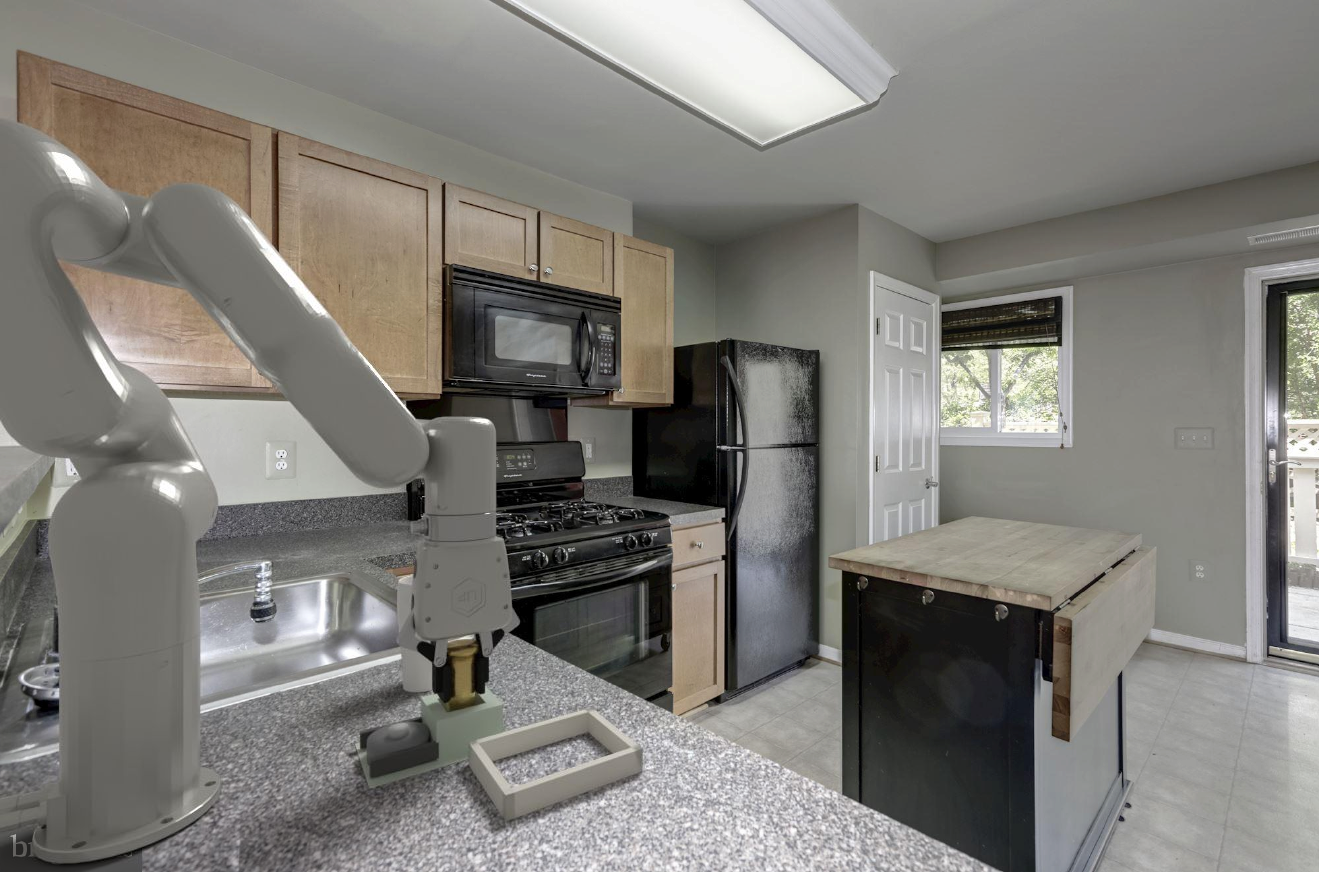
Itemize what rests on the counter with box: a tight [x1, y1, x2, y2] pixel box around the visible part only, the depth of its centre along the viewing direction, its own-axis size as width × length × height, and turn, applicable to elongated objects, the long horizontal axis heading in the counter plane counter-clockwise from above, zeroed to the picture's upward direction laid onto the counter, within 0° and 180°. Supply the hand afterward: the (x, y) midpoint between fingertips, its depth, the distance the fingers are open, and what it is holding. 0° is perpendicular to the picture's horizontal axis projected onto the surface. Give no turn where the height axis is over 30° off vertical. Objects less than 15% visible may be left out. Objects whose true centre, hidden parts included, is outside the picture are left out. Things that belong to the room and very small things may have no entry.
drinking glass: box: [396, 574, 447, 693], centre depth 81 cm, size 7×7×15 cm
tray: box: [467, 707, 644, 822], centre depth 60 cm, size 14×11×3 cm
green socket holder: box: [354, 685, 504, 789], centre depth 65 cm, size 14×10×5 cm
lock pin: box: [446, 638, 479, 713], centre depth 67 cm, size 4×4×10 cm
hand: (460, 692), depth 67 cm, fingers closed on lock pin, 3 cm apart
